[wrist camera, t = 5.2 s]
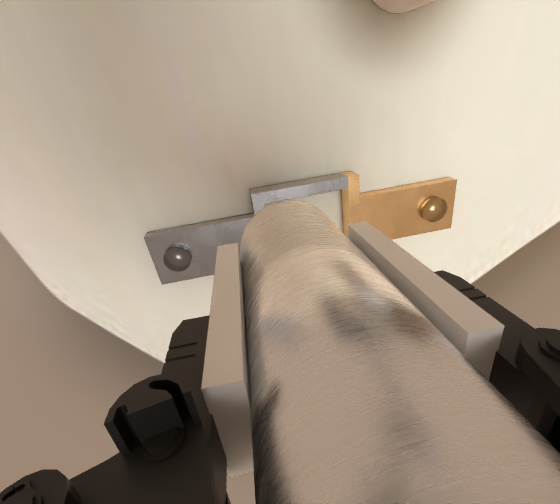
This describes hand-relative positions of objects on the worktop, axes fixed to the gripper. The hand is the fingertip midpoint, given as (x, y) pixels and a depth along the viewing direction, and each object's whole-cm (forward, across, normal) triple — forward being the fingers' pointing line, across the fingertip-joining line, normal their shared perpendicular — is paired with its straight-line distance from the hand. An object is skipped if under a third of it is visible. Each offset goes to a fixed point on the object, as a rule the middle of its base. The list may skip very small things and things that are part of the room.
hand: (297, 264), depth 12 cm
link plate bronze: (+17, +9, -5) cm, 20 cm away
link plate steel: (+17, -2, -5) cm, 17 cm away
